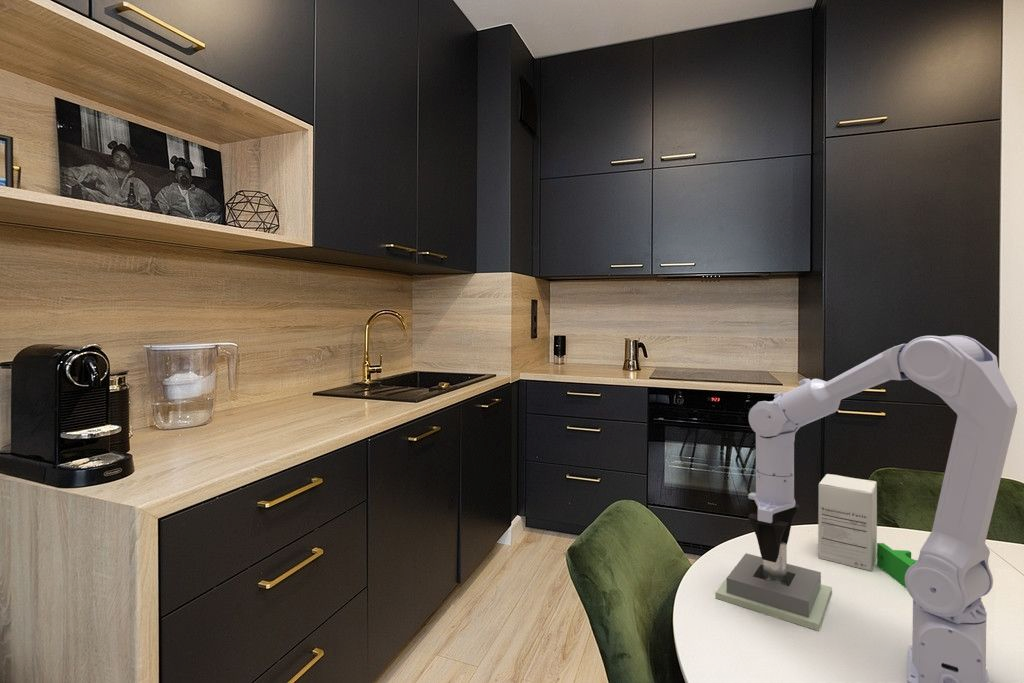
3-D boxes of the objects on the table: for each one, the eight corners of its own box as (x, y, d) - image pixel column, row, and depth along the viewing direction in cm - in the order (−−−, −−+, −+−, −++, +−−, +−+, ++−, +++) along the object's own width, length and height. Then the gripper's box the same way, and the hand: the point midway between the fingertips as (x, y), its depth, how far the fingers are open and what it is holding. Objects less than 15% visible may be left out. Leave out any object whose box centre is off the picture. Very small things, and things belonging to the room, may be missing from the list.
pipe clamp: (940, 598, 85) (940, 571, 85) (916, 597, 85) (916, 570, 85) (897, 566, 96) (898, 543, 96) (876, 566, 96) (877, 542, 96)
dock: (819, 631, 75) (819, 607, 75) (715, 598, 85) (715, 577, 85) (831, 592, 86) (832, 572, 86) (738, 567, 96) (738, 549, 96)
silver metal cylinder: (785, 597, 83) (785, 549, 83) (761, 591, 85) (761, 544, 85) (787, 588, 86) (787, 541, 86) (764, 582, 88) (764, 537, 88)
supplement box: (825, 543, 106) (825, 472, 106) (877, 555, 100) (878, 480, 100) (816, 558, 99) (817, 482, 99) (872, 572, 94) (872, 492, 93)
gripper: (759, 459, 93) (759, 532, 93) (737, 477, 82) (737, 560, 82) (803, 465, 89) (803, 542, 89) (786, 485, 78) (786, 573, 78)
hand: (774, 552), depth 85 cm, fingers open, 7 cm apart
